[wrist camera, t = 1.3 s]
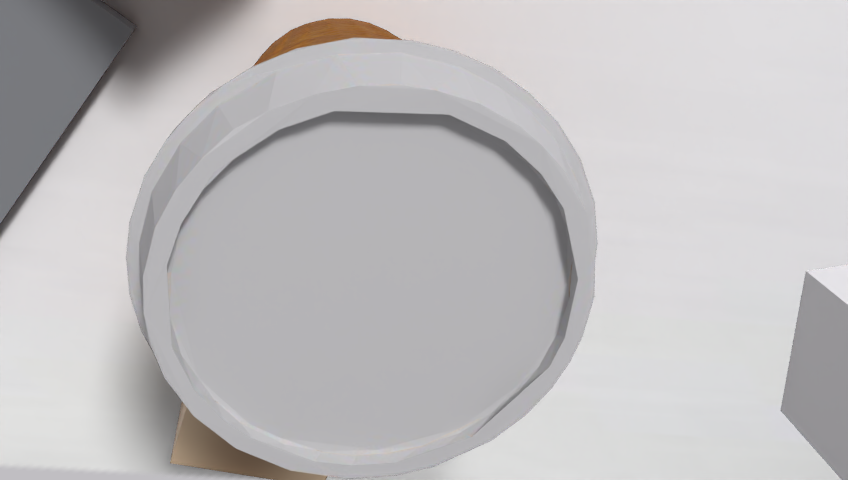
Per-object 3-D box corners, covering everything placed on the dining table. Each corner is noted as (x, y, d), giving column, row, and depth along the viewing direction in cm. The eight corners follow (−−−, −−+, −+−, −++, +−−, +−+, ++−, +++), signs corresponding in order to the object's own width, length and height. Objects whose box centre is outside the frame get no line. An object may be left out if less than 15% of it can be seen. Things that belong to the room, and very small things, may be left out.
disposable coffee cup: (256, 280, 27) (237, 549, 17) (136, 19, 23) (7, 162, 12) (510, 196, 27) (650, 411, 17) (441, -80, 23) (573, -23, 12)
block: (357, 287, 28) (370, 368, 24) (317, 394, 30) (322, 487, 26) (221, 254, 27) (208, 333, 22) (187, 368, 29) (170, 463, 24)
